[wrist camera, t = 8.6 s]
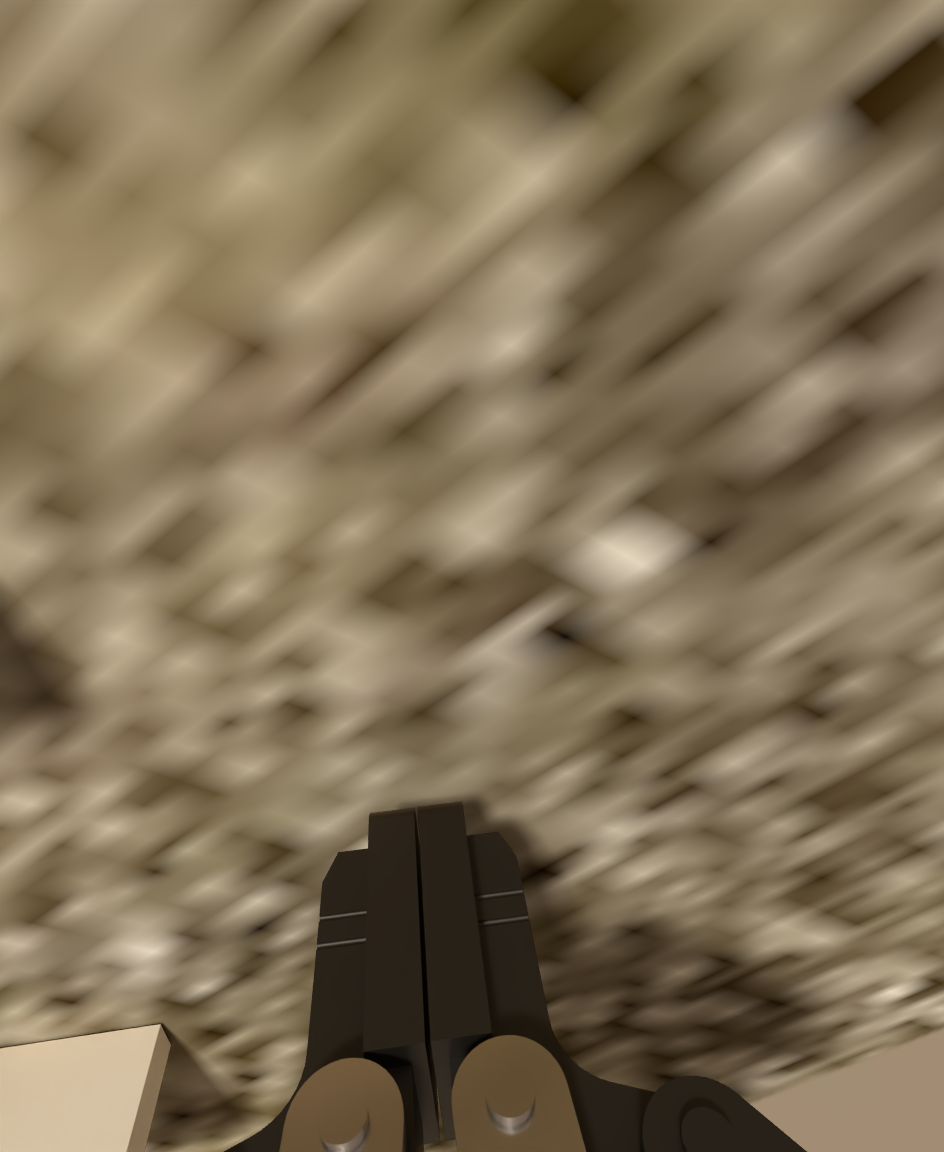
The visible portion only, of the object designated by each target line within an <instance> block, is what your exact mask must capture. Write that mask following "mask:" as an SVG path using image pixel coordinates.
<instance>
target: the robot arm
mask: <svg viewBox="0 0 944 1152" xmlns="http://www.w3.org/2000/svg"><path fill="white" fill-rule="evenodd" d="M418 818H419V836H418V828H417V820H416V813H415V808H408V809H400V810H391V811H383V812H375V813H370V815H369V834H368V849H361V850H353V851H345V852H338V854H337V856H336V858H335V860H334V862H333V864H332V866H331V867H330V869H329V871H328V873H327V875H326V877H325V879H324V881H323V883H322V894H321V905H320V922H319V927H318V938H317V950H316V960H315V971H314V982H313V993H312V1004H311V1015H310V1026H309V1037H308V1048H307V1057H306V1063H305V1068H304V1071H303V1074H302V1078H301V1080H300V1082H299V1084H298V1087H297V1089H296V1091H295V1092H294V1094H293V1096H292V1097H291V1099H290V1101H289V1102H288V1104H287V1105H286V1106H285V1107H284V1109H283V1110H282V1111H281V1113H280V1114H279V1115H278V1116H277V1117H276V1118H275V1119H274V1120H273V1121H272V1122H271V1123H270V1124H268V1125H267V1126H266V1127H265V1128H263V1129H262V1130H261V1131H259V1132H258V1133H256V1134H255V1135H253V1136H251V1137H250V1138H248V1139H246V1140H244V1141H243V1142H241V1143H239V1144H237V1145H235V1146H233V1147H231V1148H230V1149H228V1150H226V1151H224V1152H424V1144H428V1143H435V1142H440V1130H439V1114H438V1097H437V1088H438V1095H439V1102H440V1108H441V1115H442V1122H443V1129H444V1136H445V1140H451V1139H456V1143H457V1151H458V1152H807V1151H805V1150H804V1149H803V1148H802V1147H801V1146H799V1145H798V1144H797V1143H796V1142H795V1141H793V1140H792V1139H791V1138H790V1137H789V1136H787V1135H786V1134H785V1133H784V1132H782V1131H781V1130H780V1129H779V1128H778V1127H777V1126H775V1125H774V1124H773V1123H772V1122H771V1121H769V1120H768V1119H767V1118H766V1117H765V1116H763V1115H762V1114H761V1113H760V1112H759V1111H757V1110H756V1109H755V1108H754V1107H753V1106H751V1105H750V1104H749V1103H748V1102H747V1101H745V1100H744V1099H743V1098H742V1097H741V1096H739V1095H738V1094H737V1093H735V1092H734V1091H733V1090H731V1089H730V1088H729V1087H727V1086H725V1085H723V1084H721V1083H719V1082H718V1081H715V1080H712V1079H709V1078H706V1077H700V1076H683V1077H679V1078H675V1079H673V1080H671V1081H668V1082H667V1083H665V1084H664V1085H663V1086H661V1087H660V1088H659V1089H658V1090H657V1091H656V1092H652V1091H647V1090H643V1089H639V1088H634V1087H630V1086H626V1085H621V1084H617V1083H613V1082H609V1081H606V1080H603V1079H600V1078H597V1077H595V1076H593V1075H591V1074H589V1073H588V1072H586V1071H585V1070H583V1069H582V1068H580V1067H579V1066H578V1065H577V1064H576V1063H575V1062H573V1061H572V1060H571V1059H570V1058H569V1056H568V1055H567V1054H566V1053H565V1052H564V1050H563V1049H562V1048H561V1046H560V1044H559V1043H558V1041H557V1039H556V1037H555V1035H554V1033H553V1030H552V1028H551V1024H550V1020H549V1016H548V1011H547V1006H546V1001H545V996H544V991H543V986H542V981H541V976H540V971H539V966H538V961H537V956H536V951H535V946H534V941H533V936H532V931H531V926H530V921H529V918H528V911H527V906H526V901H525V896H524V893H523V886H522V881H521V876H520V871H519V866H518V861H517V857H516V856H515V854H514V853H513V851H512V850H511V849H510V847H509V846H508V845H507V843H506V842H505V840H504V839H503V838H502V836H501V835H500V834H499V832H494V833H486V834H478V835H470V836H467V835H466V828H465V820H464V812H463V805H462V802H455V803H447V804H438V805H430V806H422V807H418ZM419 837H420V843H419Z"/></svg>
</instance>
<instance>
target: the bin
mask: <svg viewBox="0 0 944 1152" xmlns="http://www.w3.org/2000/svg"><path fill="white" fill-rule="evenodd" d="M170 1047H171V1044H170V1042H169V1040H168V1038H167V1036H166V1034H165V1032H164V1030H163V1028H162V1026H161V1024H158V1025H151V1026H145V1027H138V1028H132V1029H125V1030H118V1031H112V1032H105V1033H99V1034H92V1035H86V1036H79V1037H72V1038H66V1039H59V1040H53V1041H46V1042H39V1043H33V1044H26V1045H20V1046H13V1047H6V1048H0V1152H145V1148H146V1144H147V1140H148V1135H149V1131H150V1127H151V1123H152V1119H153V1115H154V1111H155V1107H156V1103H157V1099H158V1095H159V1091H160V1087H161V1083H162V1079H163V1075H164V1071H165V1067H166V1063H167V1059H168V1055H169V1051H170Z"/></svg>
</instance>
